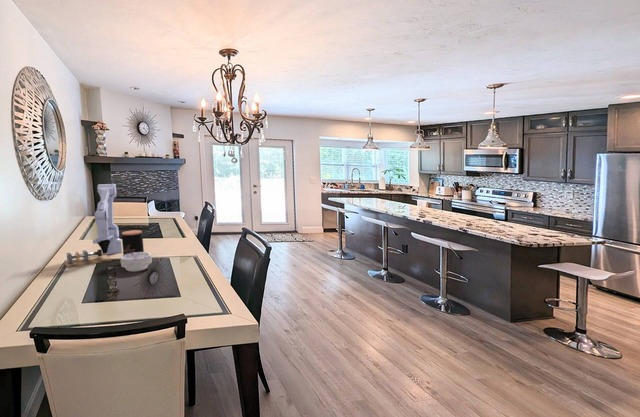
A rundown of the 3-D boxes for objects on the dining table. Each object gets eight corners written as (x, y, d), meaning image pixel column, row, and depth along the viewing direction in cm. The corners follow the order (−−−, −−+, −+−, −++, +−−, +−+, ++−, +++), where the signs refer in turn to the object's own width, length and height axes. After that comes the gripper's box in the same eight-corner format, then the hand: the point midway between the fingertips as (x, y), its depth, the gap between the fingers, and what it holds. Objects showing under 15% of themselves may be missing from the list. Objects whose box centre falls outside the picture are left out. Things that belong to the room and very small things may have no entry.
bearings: (86, 258, 232) (85, 250, 232) (88, 260, 228) (87, 252, 227) (67, 261, 226) (66, 253, 226) (69, 263, 222) (68, 254, 221)
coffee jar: (120, 263, 226) (117, 232, 224) (136, 259, 235) (133, 229, 233) (132, 265, 221) (129, 234, 219) (148, 261, 230) (146, 231, 228)
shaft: (100, 255, 236) (100, 248, 236) (102, 256, 233) (101, 249, 233) (70, 260, 226) (69, 253, 226) (71, 261, 223) (70, 254, 223)
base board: (106, 257, 242) (106, 254, 242) (111, 260, 233) (111, 258, 233) (64, 263, 228) (64, 261, 228) (67, 268, 219) (67, 265, 219)
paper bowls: (140, 274, 205) (139, 259, 204) (115, 272, 208) (113, 258, 207) (158, 266, 220) (157, 252, 219) (133, 265, 223) (132, 251, 222)
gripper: (106, 228, 242) (108, 249, 244) (87, 232, 228) (89, 255, 230) (116, 228, 240) (118, 250, 242) (97, 232, 226) (100, 256, 228)
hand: (104, 252), depth 236 cm, fingers closed
